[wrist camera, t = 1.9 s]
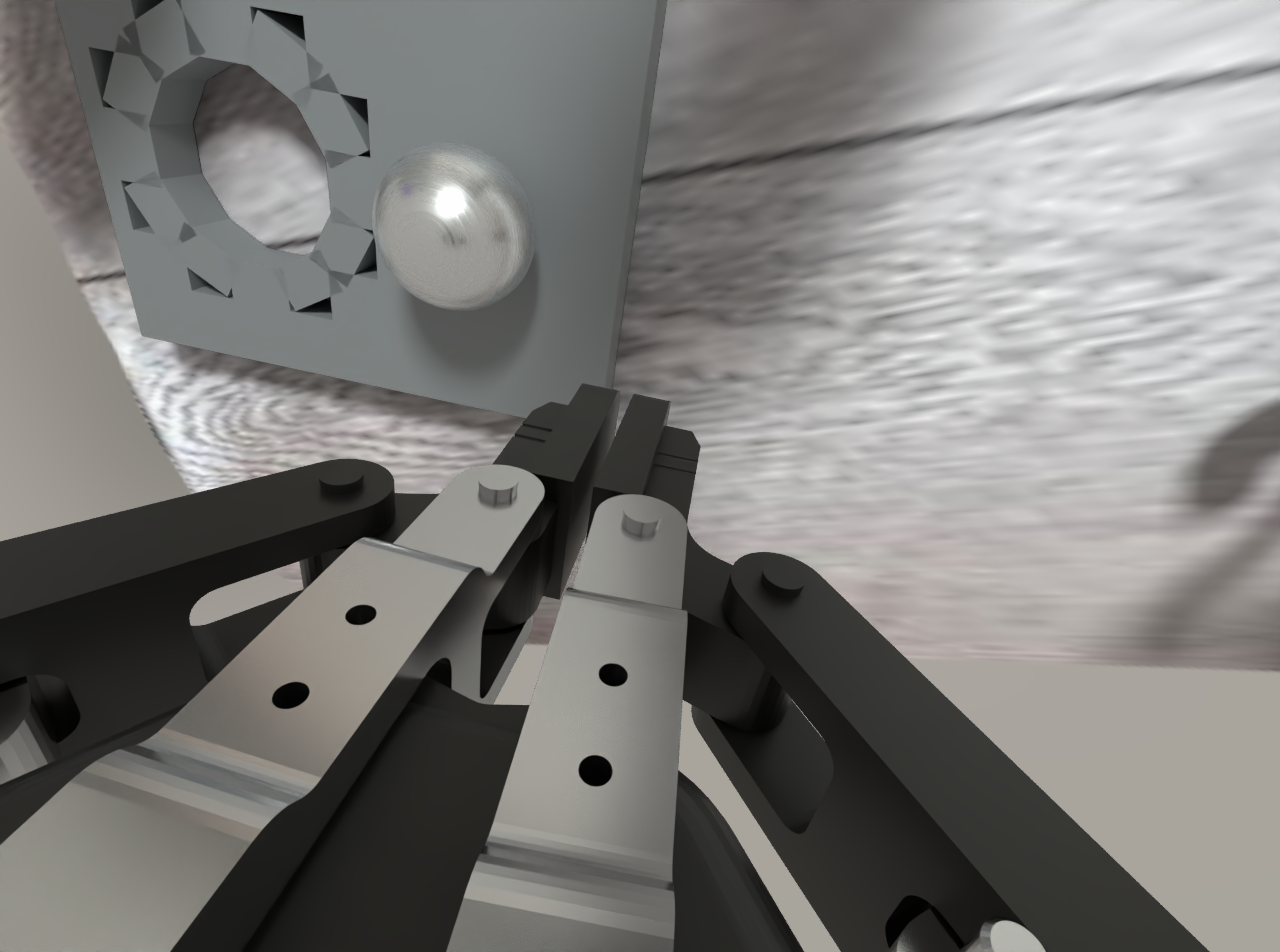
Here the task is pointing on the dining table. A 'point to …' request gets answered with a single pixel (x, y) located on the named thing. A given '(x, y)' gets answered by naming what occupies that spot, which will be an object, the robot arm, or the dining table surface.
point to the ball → (454, 226)
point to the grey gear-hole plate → (380, 178)
